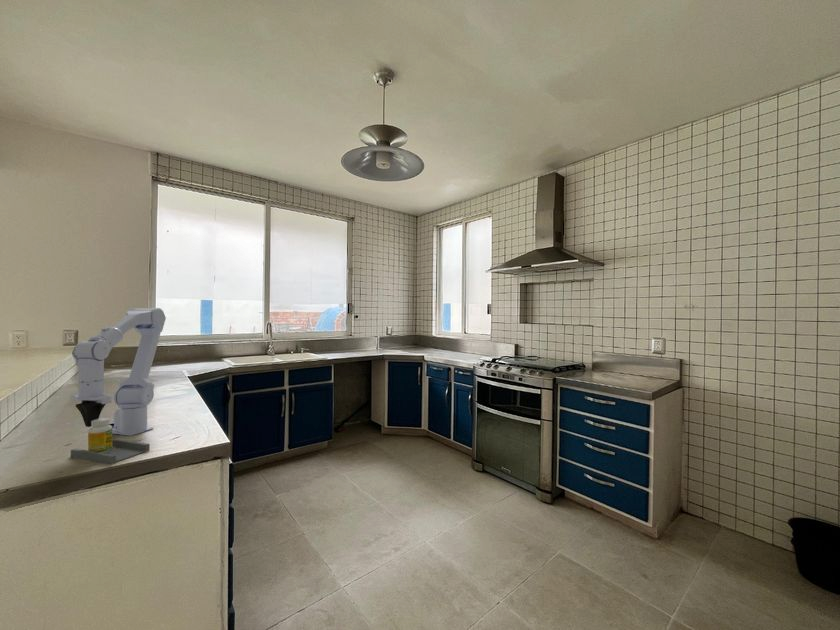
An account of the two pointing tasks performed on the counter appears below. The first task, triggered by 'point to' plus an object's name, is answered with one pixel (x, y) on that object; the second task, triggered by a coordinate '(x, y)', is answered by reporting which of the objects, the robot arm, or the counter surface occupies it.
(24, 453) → the counter surface
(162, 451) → the counter surface
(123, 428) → the robot arm
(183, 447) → the counter surface
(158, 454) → the counter surface
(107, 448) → the supplement bottle
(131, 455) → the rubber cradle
